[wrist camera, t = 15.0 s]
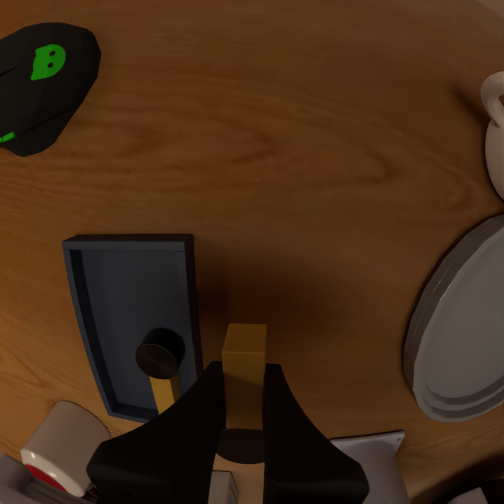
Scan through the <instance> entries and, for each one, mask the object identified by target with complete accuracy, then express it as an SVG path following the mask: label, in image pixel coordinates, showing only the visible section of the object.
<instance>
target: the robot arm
mask: <svg viewBox="0 0 504 504" xmlns="http://www.w3.org/2000/svg"><path fill="white" fill-rule="evenodd" d="M225 417H226V409H225V394H224V378H223V362H222V361H212V362H211V363H210V364H209V365H208V366H207V368H206V369H205V370H204V372H203V373H202V374H201V375H200V377H199V378H198V379H197V380H196V381H195V382H194V384H193V385H192V386H191V387H190V388H189V389H188V390H187V391H186V392H185V393H184V394H183V395H182V396H181V397H180V398H179V399H178V400H177V401H176V402H175V403H173V404H172V405H171V406H170V407H169V408H167V409H166V410H165V411H163V412H162V413H161V414H159V415H158V416H156V417H155V418H153V419H152V420H150V421H149V422H147V423H145V424H144V425H142V426H140V427H138V428H136V429H134V430H132V431H130V432H128V433H125V434H123V435H120V436H118V437H115V438H112V439H109V440H106V441H103V442H101V443H100V445H99V446H98V447H97V449H96V450H95V452H94V454H93V455H92V457H91V459H90V461H89V463H88V465H87V467H86V473H87V475H88V477H89V479H90V480H91V481H92V483H93V484H94V485H95V487H96V488H97V490H98V491H99V492H100V496H99V498H98V500H97V502H96V504H208V499H209V492H210V484H211V477H212V470H213V464H214V459H215V454H216V451H217V447H218V444H219V440H220V436H221V433H222V429H223V425H224V421H225ZM262 426H263V442H264V457H265V470H264V490H263V504H410V500H409V497H408V494H407V490H406V487H405V484H404V481H403V478H402V475H401V471H400V468H399V465H398V462H397V459H396V456H395V454H396V452H397V450H398V448H399V446H400V444H401V442H402V440H403V438H404V436H405V433H404V431H399V432H393V433H386V434H380V435H372V436H364V437H355V438H345V439H333V440H330V441H329V440H328V439H327V438H326V437H325V436H324V435H323V434H322V433H321V432H320V431H319V430H318V429H317V428H316V427H315V426H314V424H313V423H312V422H311V421H310V420H309V418H308V417H307V416H306V414H305V413H304V412H303V410H302V409H301V407H300V406H299V404H298V403H297V401H296V399H295V398H294V396H293V394H292V392H291V390H290V388H289V386H288V384H287V382H286V380H285V377H284V374H283V371H282V368H281V365H279V364H266V370H265V374H264V381H263V407H262ZM0 504H94V503H92V502H89V501H87V500H84V499H82V498H79V497H77V496H74V495H72V494H70V493H68V492H65V491H63V490H61V489H59V488H57V487H55V486H52V485H50V484H48V483H46V482H44V481H42V480H40V479H39V478H37V477H35V476H33V475H32V473H31V472H30V470H29V469H28V468H27V467H26V466H25V465H24V464H22V463H21V462H19V461H18V460H16V459H14V458H13V457H11V456H9V455H8V454H6V453H4V454H3V456H2V457H1V458H0ZM448 504H488V503H487V501H486V499H485V496H484V494H483V492H482V490H481V488H480V487H478V488H476V489H473V490H471V491H469V492H466V493H464V494H461V495H459V496H457V497H455V498H453V499H452V500H451V501H450V502H449V503H448Z"/></svg>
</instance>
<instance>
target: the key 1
mask: <svg viewBox="0 0 504 504" xmlns="http://www.w3.org/2000/svg"><path fill="white" fill-rule="evenodd" d="M185 352H186V350H185V345H184V342H183V341H182V339H181V338H180V337H179V336H178V335H177V334H176V333H174V332H173V331H171V330H168V329H164V328H157V329H153V330H151V331H150V332H149V333H148V334H147V335H146V337H145V338H144V340H143V341H142V343H141V344H140V346H139V347H138V348H137V350H136V353H135V359H136V362H137V365H138V366H139V368H140V369H141V370H142V371H143V372H144V373H145V374H146V375H148V376H150V381H151V385H152V389H153V393H154V397H155V401H156V405H157V408H158V412H159V414H161V413H162V412H163V411H165V410H166V409H167V408H169V407H170V406H171V405H172V404H173V403H175V402H176V401H177V400H178V399H179V398H180V397H181V396H182V395H183V392H182V387H181V381H180V375H179V367H180V365H181V363H182V360H183V358H184V356H185Z"/></svg>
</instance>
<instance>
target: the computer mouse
mask: <svg viewBox="0 0 504 504" xmlns="http://www.w3.org/2000/svg"><path fill="white" fill-rule="evenodd" d="M100 56H101V52H100V49H99V47H98V44H97V42H96V39H95V37H94V35H93V34H92V32H91V31H89V30H87V29H85V28H82V27H78V26H74V25H70V24H66V23H41V24H35V25H31V26H27V27H24V28H22V29H20V30H18V31H16V32H14V33H12V34H10V35H8V36H6V37H5V38H3V39H1V40H0V147H2V148H5V149H7V150H9V151H11V152H13V153H14V154H16V155H18V156H22V157H25V156H28V155H32V154H35V153H38V152H41V151H43V150H45V149H46V148H47V147H49V146H50V145H51V144H53V143H54V142H55V140H56V139H57V137H58V136H59V134H60V133H61V131H62V130H63V128H64V127H65V125H66V124H67V123H68V121H69V120H70V118H71V117H72V115H73V114H74V113H75V111H76V110H77V109H78V107H79V106H80V104H81V103H82V101H83V100H84V98H85V96H86V94H87V93H88V91H89V89H90V88H91V86H92V84H93V83H94V81H95V80H96V78H97V74H98V67H99V62H100Z"/></svg>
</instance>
